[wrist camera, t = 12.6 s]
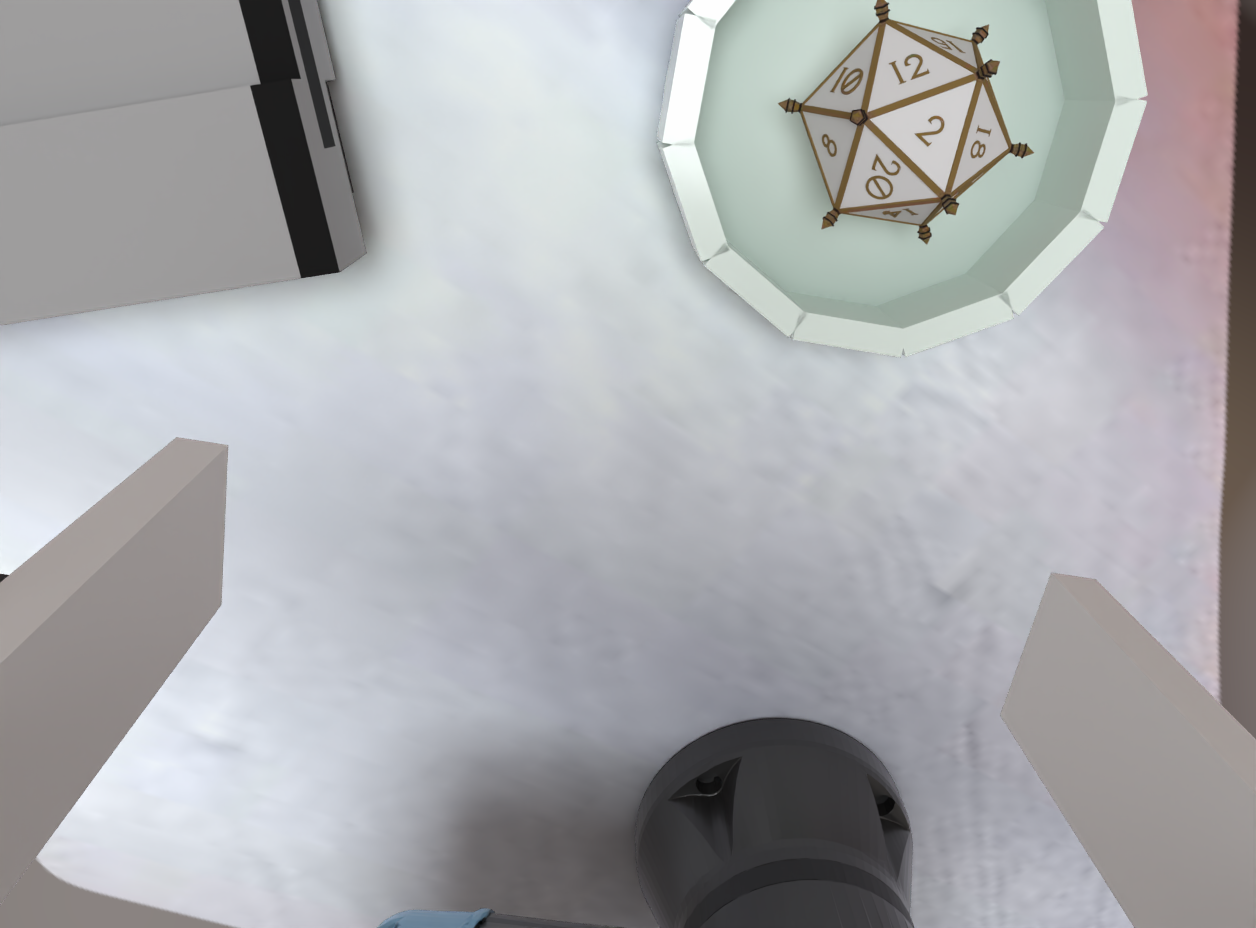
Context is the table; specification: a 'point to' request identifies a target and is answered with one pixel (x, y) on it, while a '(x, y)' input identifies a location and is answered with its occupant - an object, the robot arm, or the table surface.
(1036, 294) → the bowl
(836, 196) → the game die
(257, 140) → the game console
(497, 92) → the table surface
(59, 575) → the robot arm
